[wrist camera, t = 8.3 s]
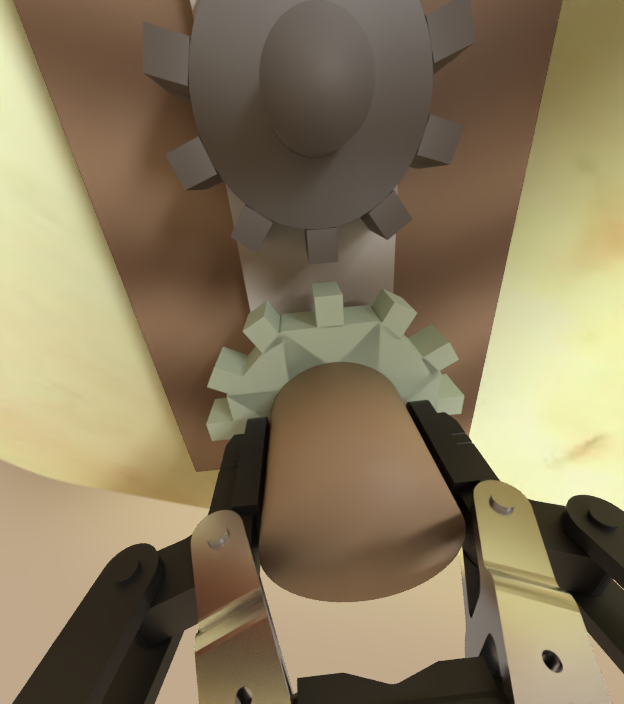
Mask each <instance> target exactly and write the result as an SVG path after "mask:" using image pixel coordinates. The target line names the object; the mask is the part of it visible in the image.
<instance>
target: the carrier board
mask: <svg viewBox="0 0 624 704" xmlns="http://www.w3.org/2000/svg"><path fill="white" fill-rule="evenodd" d="M14 3H15V5H16V8H17V11H18V13H19V16H20V18H21V21H22V24H23V26H24V29H25V31H26V34H27V36H28V39H29V42H30V44H31V47H32V49H33V52H34V54H35V57H36V60H37V62H38V65H39V67H40V70H41V73H42V75H43V78H44V80H45V83H46V85H47V88H48V91H49V93H50V96H51V98H52V101H53V103H54V106H55V109H56V111H57V114H58V116H59V119H60V122H61V124H62V127H63V129H64V132H65V134H66V137H67V140H68V142H69V145H70V147H71V150H72V152H73V155H74V158H75V160H76V163H77V165H78V168H79V171H80V173H81V176H82V178H83V181H84V183H85V186H86V189H87V191H88V194H89V196H90V199H91V202H92V204H93V207H94V209H95V212H96V214H97V217H98V220H99V222H100V225H101V227H102V230H103V232H104V235H105V238H106V240H107V243H108V245H109V248H110V251H111V253H112V256H113V258H114V261H115V263H116V266H117V269H118V271H119V274H120V276H121V279H122V281H123V284H124V287H125V289H126V292H127V294H128V297H129V300H130V302H131V305H132V307H133V310H134V312H135V315H136V318H137V320H138V323H139V325H140V328H141V330H142V333H143V336H144V338H145V341H146V343H147V346H148V349H149V351H150V354H151V356H152V359H153V361H154V364H155V367H156V369H157V372H158V374H159V377H160V379H161V382H162V385H163V387H164V390H165V392H166V395H167V398H168V400H169V403H170V405H171V408H172V410H173V413H174V416H175V418H176V421H177V423H178V426H179V428H180V431H181V434H182V436H183V439H184V441H185V444H186V447H187V449H188V452H189V454H190V457H191V459H192V462H193V465H194V467H195V470H196V472H199V471H208V470H217V469H220V466H221V463H222V461H223V455H224V451H225V447H226V445H227V443H228V442H229V441H230V439H227V440H218V441H212V440H211V437H210V434H209V431H208V428H207V425H206V423H207V421H208V418H209V415H210V412H211V409H212V407H213V404H214V401H215V399H220V398H227V393H224V392H221V391H218V390H215V389H211V388H208V387H207V386H208V383H209V380H210V377H211V375H212V372H213V369H214V367H215V364H216V362H217V360H218V357H219V355H220V353H221V350H222V348H223V347H226V348H229V349H232V350H235V351H237V352H240V353H243V354H246V355H249V354H250V352H251V351H252V350H253V349H254V348H255V345H254V344H253V342H252V341H251V340H250V339H249V338H248V337H247V336H246V335H245V334H244V333H243V329H244V326H245V323H246V320H247V317H248V314H249V313H250V312H252V311H253V310H255V309H256V308H257V307H259V306H260V305H261V304H263V303H264V302H266V301H268V302H269V303H270V304H271V306H272V307H273V308H274V309H275V310H276V312H277V313H278V314H279V315H280V316H281V315H282V314H288V313H297V312H307V311H314V306H313V295H312V283H321V282H331V281H336V282H337V284H338V286H339V288H340V290H341V292H342V294H343V308H344V307H354V306H363V305H370V306H372V305H373V303H374V301H375V299H376V298H377V296H378V294H379V292H380V291H381V289H385V290H387V291H389V292H391V293H393V294H395V295H397V296H400V297H402V298H403V299H404V300H405V301H406V302H407V303H408V304H409V305H410V306H411V307H412V308H413V309H414V310H415V311H416V312H417V314H416V316H415V317H414V319H413V320H412V322H411V324H410V325H409V327H408V328H407V330H406V331H405V333H404V335H405V336H406V337H407V338H409V337H411V336H413V335H414V334H416V333H417V332H419V331H421V330H422V329H424V328H426V327H427V326H429V325H433V326H434V327H435V328H436V329H437V330H438V331H439V332H440V333H441V334H442V335H443V336H444V337H445V338H446V339H447V340H448V341H449V342H450V344H451V346H452V348H453V349H454V351H455V353H456V355H457V357H458V359H459V360H458V361H456V362H454V363H452V364H451V365H449V366H447V367H445V368H444V369H442V370H440V372H441V374H447V375H448V377H449V378H450V379H451V380H452V381H453V383H454V384H455V385H456V386H457V387H458V389H459V390H460V391H461V392H462V393H463V395H464V401H463V406H462V412H461V414H454V415H450V416H451V417H452V418H454V419H455V420H457V421H458V423H459V424H460V426H461V427H462V428H463V430H464V431H465V434H467V435H468V437H469V432H470V428H471V423H472V418H473V414H474V409H475V404H476V400H477V395H478V391H479V386H480V381H481V377H482V372H483V367H484V363H485V358H486V353H487V349H488V344H489V339H490V335H491V330H492V325H493V321H494V316H495V312H496V307H497V302H498V298H499V293H500V288H501V284H502V279H503V274H504V270H505V265H506V260H507V256H508V251H509V246H510V242H511V237H512V233H513V228H514V223H515V219H516V214H517V209H518V205H519V200H520V195H521V191H522V186H523V181H524V177H525V172H526V167H527V163H528V158H529V154H530V149H531V144H532V140H533V135H534V130H535V126H536V121H537V116H538V112H539V107H540V102H541V98H542V93H543V89H544V84H545V79H546V75H547V70H548V65H549V61H550V56H551V51H552V47H553V42H554V37H555V33H556V28H557V23H558V19H559V14H560V10H561V5H562V0H14Z"/></svg>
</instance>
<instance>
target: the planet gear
mask: <svg viewBox="0 0 624 704" xmlns="http://www.w3.org/2000/svg"><path fill="white" fill-rule="evenodd" d="M312 295H313V306H314V311H307V312H297V313H288V314H282V315H281V316H280V315H279V314H278V313H277V312H276V310H275V309H274V308H273V307H272V306H271V304H270V303H269V302H268V301H266V302H264V303H263V304H261V305H260V306H259V307H257V308H256V309H255V310H253V311H252V312H250V313H249V314H248V317H247V320H246V323H245V326H244V329H243V333H244V334H245V335H246V336H247V337H248V338H249V339H250V340H251V341H252V342H253V344H254V345H255V348H254V349H253V350H252V351H251V352H250V354H249V355H246V354H243V353H240V352H237V351H235V350H232V349H229V348H226V347H223V348H222V350H221V353H220V355H219V357H218V360H217V362H216V364H215V367H214V369H213V372H212V375H211V377H210V380H209V383H208V386H207V387H208V388H211V389H215V390H218V391H221V392H224V393H227V398H220V399H215V401H214V404H213V407H212V409H211V412H210V415H209V418H208V421H207V423H206V425H207V428H208V431H209V434H210V437H211V440H212V441H218V440H227V439H231V438H232V437H233V435H236V434H244V433H245V428H246V423H247V420H248V419H252V418H261V417H268V419H269V423H270V426H269V438H268V449H267V460H266V471H265V482H264V493H263V505H262V516H261V527H260V538H259V552H258V555H259V561H260V564H261V566H262V569H263V570H264V572H265V573H266V575H267V576H268V577H269V578H270V579H271V580H272V581H273V582H274V583H276V584H277V585H278V586H280V587H281V588H283V589H285V590H287V591H289V592H291V593H294V594H296V595H299V596H302V597H306V598H310V599H314V600H320V601H329V602H357V601H366V600H373V599H378V598H383V597H387V596H391V595H394V594H398V593H401V592H404V591H406V590H409V589H411V588H414V587H416V586H418V585H420V584H422V583H424V582H426V581H428V580H429V579H431V578H432V577H434V576H435V575H437V574H438V573H439V572H441V571H442V570H443V569H444V568H446V567H447V565H449V564H450V563H451V562H452V561H453V559H454V558H455V557H456V556H457V554H458V553H459V551H460V549H461V547H462V545H463V542H464V539H465V533H466V527H465V521H464V518H463V515H462V513H461V511H460V509H459V507H458V505H457V503H456V502H455V500H454V498H453V496H452V494H451V492H450V490H449V488H448V486H447V484H446V483H445V481H444V479H443V477H442V475H441V473H440V471H439V469H438V467H437V465H436V463H435V462H434V460H433V458H432V456H431V454H430V452H429V450H428V448H427V446H426V444H425V443H424V441H423V439H422V437H421V435H420V433H419V431H418V429H417V427H416V425H415V423H414V422H413V420H412V418H411V416H410V414H409V412H408V410H407V408H406V403H407V402H411V401H420V400H429V401H430V403H431V404H432V406H433V407H434V409H435V410H436V412H437V413H440V412H445V413H447V414H448V415H454V414H461V412H462V406H463V401H464V395H463V393H462V392H461V391H460V390H459V389H458V387H457V386H456V385H455V384H454V383H453V381H452V380H451V379H450V378H449V377H448V375H447V374H441V372H440V370H442V369H444V368H445V367H447V366H449V365H451V364H452V363H454V362H456V361H458V360H459V359H458V357H457V355H456V353H455V351H454V349H453V348H452V346H451V344H450V342H449V341H448V340H447V339H446V338H445V337H444V336H443V335H442V334H441V333H440V332H439V331H438V330H437V329H436V328H435V327H434V326H433V325H429V326H427V327H426V328H424V329H422V330H421V331H419V332H417V333H416V334H414V335H413V336H411V337H409V338H407V337H406V336H405V335H404V333H405V331H406V330H407V328H408V327H409V325H410V324H411V322H412V320H413V319H414V317H415V316H416V314H417V312H416V311H415V310H414V309H413V308H412V307H411V306H410V305H409V304H408V303H407V302H406V301H405V300H404V299H403V298H402V297H400V296H397V295H395V294H393V293H391V292H389V291H387V290H385V289H381V291H380V292H379V294H378V296H377V298H376V299H375V301H374V303H373V305H372V306H370V305H363V306H354V307H344V308H343V294H342V292H341V290H340V288H339V286H338V284H337V282H336V281H331V282H321V283H312Z"/></svg>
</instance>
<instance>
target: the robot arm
mask: <svg viewBox="0 0 624 704" xmlns="http://www.w3.org/2000/svg"><path fill="white" fill-rule="evenodd" d="M406 408H407V410H408V412H409V414H410V416H411V418H412V420H413V422H414V423H415V425H416V427H417V429H418V431H419V433H420V435H421V437H422V439H423V441H424V443H425V444H426V446H427V448H428V450H429V452H430V454H431V456H432V458H433V460H434V462H435V463H436V465H437V467H438V469H439V471H440V473H441V475H442V477H443V479H444V481H445V483H446V484H447V486H448V488H449V490H450V492H451V494H452V496H453V498H454V500H455V502H456V503H457V505H458V507H459V509H460V511H461V513H462V515H463V518H464V521H465V527H466V533H465V539H464V542H463V545H462V547H461V549H460V563H461V574H462V585H463V595H464V605H465V616H466V617H465V618H466V634H465V658H463V659H454V660H445V661H438V662H436V663H434V664H432V665H430V666H429V667H427V668H425V669H423V670H421V671H420V672H418V673H416V674H414V675H412V676H411V677H409V678H407V679H405V680H403V681H402V682H400V683H397V684H387V683H383V682H379V681H375V680H371V679H367V678H363V677H359V676H354V675H351V674H347V673H336V674H328V675H320V676H311V677H303V678H297V685H298V686H297V689H298V692H297V693H295V694H293V691H292V687H291V683H290V680H289V676H288V673H287V670H286V666H285V663H284V659H283V656H282V653H281V649H280V646H279V642H278V639H277V635H276V631H275V628H274V624H273V621H272V617H271V613H270V610H269V606H268V603H267V599H266V596H265V592H264V589H263V585H262V581H261V578H260V561H259V555H258V552H259V538H260V527H261V516H262V505H263V493H264V482H265V471H266V460H267V449H268V438H269V426H270V423H269V419H268V417H261V418H252V419H248V420H247V423H246V428H245V433H244V434H236V435H233V437H232V438H231V439H230V441H229V442H228V443H227V445H226V447H225V451H224V455H223V461H222V463H221V466H220V471H219V474H218V478H217V482H216V486H215V490H214V494H213V498H212V502H211V506H210V510H209V513H208V516H207V517H205V518H204V519H203V520H202V521H201V522H200V523H199V524H198V525H197V527H196V528H195V530H194V532H193V534H192V535H190V536H189V537H188V538H186V539H184V540H182V541H180V542H177V543H175V544H173V545H170V546H168V547H166V548H163V549H161V550H159V551H156V549H155V548H154V547H153V546H151V545H150V544H146V543H144V544H143V543H141V544H136V545H132V546H130V547H128V548H126V549H124V550H123V551H121V552H120V553H118V554H117V555H116V556H115V557H114V558H112V560H111V561H110V562H109V563H108V564H107V565H106V567H105V568H104V569H103V571H102V572H101V574H100V575H99V577H98V578H97V580H96V581H95V583H94V584H93V585H92V587H91V588H90V590H89V592H88V593H87V594H86V596H85V597H84V599H83V600H82V602H81V603H80V605H79V606H78V608H77V609H76V611H75V612H74V613H73V615H72V617H71V618H70V619H69V621H68V622H67V624H66V625H65V627H64V628H63V630H62V631H61V633H60V634H59V636H58V637H57V639H56V640H55V641H54V643H53V644H52V646H51V647H50V649H49V650H48V652H47V653H46V655H45V656H44V658H43V659H42V661H41V662H40V664H39V665H38V667H37V668H36V669H35V671H34V672H33V674H32V675H31V677H30V678H29V680H28V681H27V683H26V684H25V686H24V687H23V689H22V690H21V692H20V693H19V695H18V696H17V697H16V699H15V700H14V702H13V703H12V704H155V701H156V698H157V696H158V694H159V691H160V689H161V686H162V684H163V681H164V679H165V677H166V674H167V672H168V669H169V667H170V664H171V662H172V660H173V657H174V655H175V652H176V650H177V647H178V645H179V642H180V640H181V637H182V635H183V632H184V630H186V629H188V628H190V627H192V626H194V625H196V624H199V629H198V633H197V634H196V636H195V660H196V673H197V685H198V695H199V704H612V701H611V698H610V695H609V692H608V689H607V687H606V684H605V681H604V678H603V676H602V672H601V670H600V667H599V664H598V661H597V658H596V656H595V653H594V650H593V647H592V644H591V642H590V639H589V636H588V633H589V634H590V635H591V636H592V637H593V639H594V640H595V641H596V642H597V643H598V644H599V646H600V647H601V648H602V649H603V650H604V651H605V653H606V654H607V655H608V656H609V657H610V658H611V660H612V661H613V662H614V663H615V664H616V665H617V667H618V668H619V669H620V670H621V671H622V672H623V674H624V590H623V589H622V588H624V511H622V510H621V509H619V508H618V507H616V506H615V505H613V504H611V503H609V502H607V501H605V500H603V499H600V498H597V497H594V496H589V495H577V496H574V497H572V498H570V499H569V500H568V503H567V505H566V506H561V505H556V504H550V503H544V502H538V501H534V500H530V499H527V498H526V497H525V495H523V494H522V493H521V492H520V491H519V490H518V489H516V488H515V487H513V486H511V485H509V484H507V483H504V482H501V481H500V480H499V479H498V477H497V476H496V475H495V473H494V472H493V470H492V469H491V468H490V466H489V465H488V463H487V462H486V461H485V459H484V458H483V456H482V455H481V454H480V452H479V451H478V449H477V448H476V447H475V445H474V444H472V441H471V440H470V438H469V437H468V435H467V434H465V431H464V430H463V428H462V427H461V426H460V424H459V423H458V421H457V420H455V419H454V418H452V417H451V416H450V415H448V414H447V413H445V412H440V413H437V412H436V410H435V409H434V407H433V406H432V404H431V403H430V401H429V400H420V401H411V402H407V403H406ZM613 579H614V580H615V581H616V582H617V583H618V584H619V585H620V586H621V587H622V588H621V587H620V586H619V585H618V584H617V583H616V582H615V581H614V580H613ZM587 632H588V633H587Z"/></svg>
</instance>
